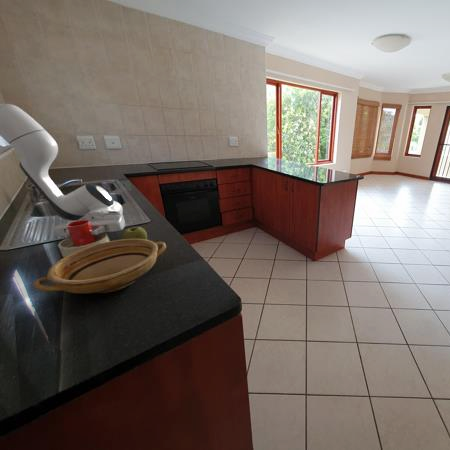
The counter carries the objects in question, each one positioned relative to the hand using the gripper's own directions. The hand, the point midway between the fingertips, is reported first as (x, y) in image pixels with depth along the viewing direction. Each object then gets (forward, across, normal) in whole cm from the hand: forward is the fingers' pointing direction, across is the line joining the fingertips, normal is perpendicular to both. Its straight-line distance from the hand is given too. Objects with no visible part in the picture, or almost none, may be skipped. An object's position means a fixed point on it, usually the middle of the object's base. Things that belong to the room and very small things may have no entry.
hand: (80, 234), depth 82 cm
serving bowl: (-1, 0, +7) cm, 7 cm away
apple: (0, +16, +7) cm, 17 cm away
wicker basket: (+23, +16, +7) cm, 29 cm away
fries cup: (-1, 0, +6) cm, 6 cm away
